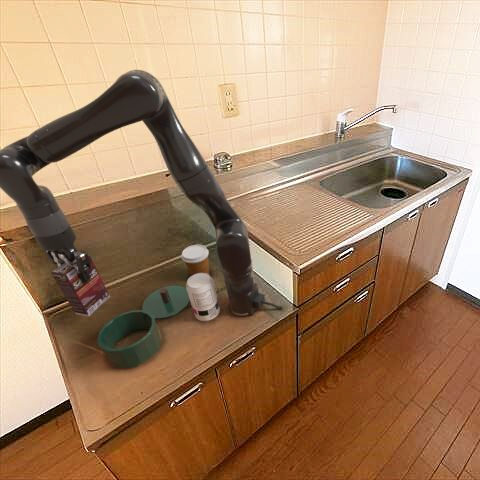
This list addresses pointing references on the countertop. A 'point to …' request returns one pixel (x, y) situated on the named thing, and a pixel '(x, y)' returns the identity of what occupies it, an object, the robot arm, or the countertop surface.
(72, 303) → the supplement box
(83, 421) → the countertop surface
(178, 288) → the lid
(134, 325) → the pot
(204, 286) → the supplement can
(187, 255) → the disposable coffee cup
